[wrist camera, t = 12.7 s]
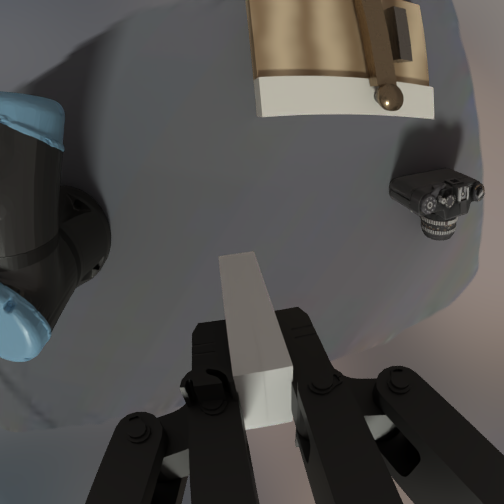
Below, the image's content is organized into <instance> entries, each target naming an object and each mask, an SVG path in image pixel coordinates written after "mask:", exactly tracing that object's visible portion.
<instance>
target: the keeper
mask: <svg viewBox="0 0 504 504" xmlns="http://www.w3.org/2000/svg"><path fill="white" fill-rule="evenodd" d="M383 11H384V16H385V20H386V25H387V29H388V34H389V39H390V45H391V50H392V56H393V62H394V63H403V62H411V61H413V60H412V50H411V42H410V34H409V27H408V20H407V14H406V9H404V8H400V7H396V6H392V7H390V8H387V9H385V10H383Z"/></svg>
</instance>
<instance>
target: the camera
mask: <svg viewBox="0 0 504 504" xmlns="http://www.w3.org/2000/svg"><path fill="white" fill-rule="evenodd" d="M389 195H390V196H391V198H392V199H394V200H396V201H397V202H399V203H401V204H402V205H404V206H405V207H407V208H408V209H410V210H411V212H414V213H415V214H417V215H419V216H420V217H421V227H422V231H423V232H424V234H425V235H426V236H427V237H428V238H431V239H433V240H447V239H449V238H451V236H452V235H453V234H454V231H455V229H456V221H457V219H458V216H461V215H464V214H467V213H468V210H469V206H470V203H471V202H472V201H480V200H481V199H482V198H483V196H484V186H483V185H482V184H481V183H480V182H479V181H477V180H475V179H473V178H470V177H468V176H466V175H464V174H462V173H459V172H457V171H454V170H452V169H448V168H443V169H438V170H433V171H428V172H422V173H417V174H412V175H408V176H403V177H398V178H395V179H393V180H392V181H391V183H390V186H389Z"/></svg>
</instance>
